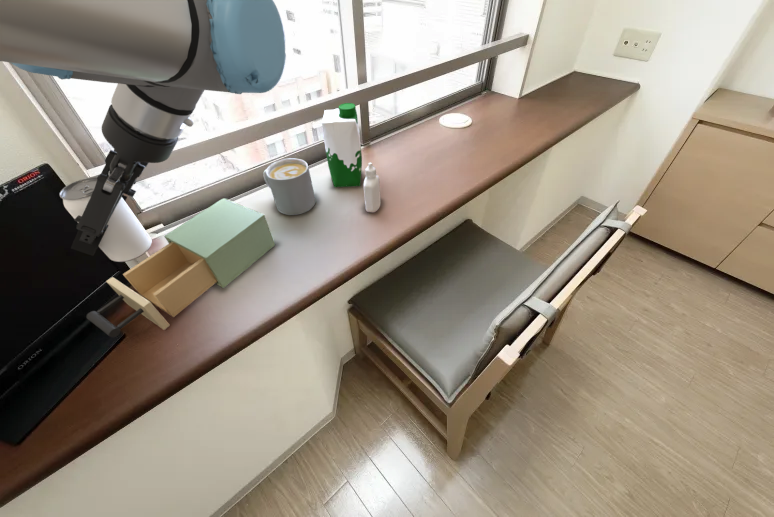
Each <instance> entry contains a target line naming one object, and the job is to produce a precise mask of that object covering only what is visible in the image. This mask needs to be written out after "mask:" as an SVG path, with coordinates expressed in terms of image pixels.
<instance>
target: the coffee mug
mask: <svg viewBox="0 0 774 517" xmlns="http://www.w3.org/2000/svg"><path fill="white" fill-rule="evenodd" d="M310 172H311V171H310V168H309V165H308V163H307V161H305V160H304V159H301V158H291V157H289V158H282V159H278V160H276V161H274V162H272V163H271V164H269V165H268V166H267V168H265V170H264V171H263V173H262V175H263V180H264V182H265V185H266V186H267V187H268V188H269V189H270V191H271V195H272V196H273V199H274V203H275V207H276V209H277V211H278V212H279V213H281V214H283V215H286V216H297V215H302V214H305V213H307V212H309V211H310V210H312V209H313V208H314V206H315V205H316V202H317V201H316V200H317V199H316V195H315V191H314V190H315V189H314V187H313V182H312V177H311V173H310Z"/></svg>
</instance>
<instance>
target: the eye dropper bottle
mask: <svg viewBox="0 0 774 517" xmlns="http://www.w3.org/2000/svg"><path fill="white" fill-rule="evenodd" d="M367 164H368V165H367V166H366V167H365V170H364V173H365V178H364V180H363V195H364V204H365V205H364V207H365V212H367V213H376V212H377V211H378V210H379V209H380V207H381V205H382V200H381V199H382V198H381V185H380V184H381V182H380V176H379V175H378V174H377V168H376V166H373V163H372V162H368V163H367Z"/></svg>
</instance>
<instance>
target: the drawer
mask: <svg viewBox="0 0 774 517" xmlns="http://www.w3.org/2000/svg"><path fill="white" fill-rule="evenodd" d="M122 275H123V277H124V278H125V279H126V280H127V281H128V283H129V284H130V285H131V286H132V287H133V288H134V289H135V291H134V290H133V289H131V288H130V287H129V286H127V285H126V284H124V283H122V282H121V281H120V280H118V279H117V278H115V277H113V276H112V277H110V278H109V279H107V280H106V281H105V282H106V283H107V285H109V286H110V288H111V289H112V290H113V291H114V292H115V293H116V294H117V295H118V296H116V297H115V298H114V299H112V300H111V301H109V302H108V303H106V304H105V305H103V307H101V308H99V309H98V310H97V311H96V310H92V311H90V312H88V313H87V314H86V319H87V320H88V321H89V322H91V323H92V324H93V325H95V326H96V327H97V328H98V329H99V330H101V332H103V333H104V334H105V335H107V336H109V338H115V337H118V336H119V335H120V334H121V330H122V329H123V328H124V327H126V326H127V325H128V324H130V323H131V322H133V320H135V319H136V318H138V317H139V316H140V315H142V316H143V317H145V318H146V319H148V320H149V321H150V322H151V323H153V324H155V325H156V326H157V327H159V328H160V329H162V330H163V331H165V330H166V329H167V328H169V327H170V326H171V324H170V323H169V322H168V321H167V320H166V318H165V317H164V316H163V315H162V314H161V313H160V312H159V310H158V309H160V310H162V311H163V312H165V313H166V314H168V315H169V316H171V317H172V318H175V317H176V316H177V315H179V314H180V313H181V312H182V311H183V310H184V309H186V308H187V307H188V306H190V305H191V304H192V303H193V302H194V301H196V300H197V299H199V298H200V296H202V295H203V294H204V293H205V292H207V291H208V290H209V289H211V287H213V286H214V285H216V284H215V283H216V282H218V281H217V279H216V278H215V276H214V274H213V273H212V271H211V269H210V267H209V266H208V264H207V262H206V261H205V259H203V258H201V257H199V256H197V255H195V254H194V253H192V252H190V251H188V250H186V249H184V248H182V247H180V246H178V245H176V244H175V243H173V242H171V243H167V244H166V245H165V246H163V247H161V248H160V249H159V250H157V251H156V252H154V253H152V254H150V256H148V257H146V258H144V259H143V260H142V261H140V262H139V263H137V264H136V265H134V266H132V267H131V268H129V270H127V271H125V272H124V273H122ZM121 301H124V303H126V304H127V306H128V307H130V308H132V309H133V310H135V312H133V313H132V314H131V315H129V316H128V317H126V319H124V320H122V321H121V322H120V323H119V324H117V325H115V324H114V323H112V322H111V321H110V320H108V318H105V317H104V316H103V315H102V314H104V313H105V312H106V311H108V310H109V309H111V308H113V307H114V306H115V305H117V304H118V303H120V302H121ZM156 307H157V308H158V309H157V308H156Z"/></svg>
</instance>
